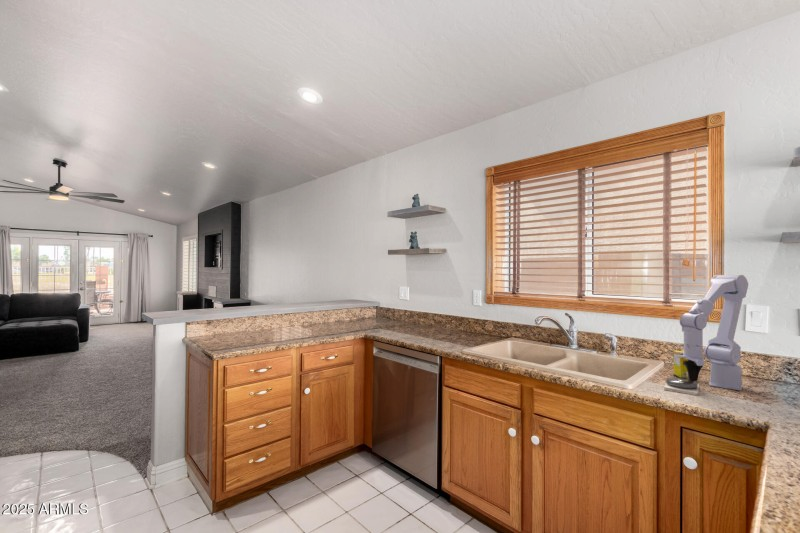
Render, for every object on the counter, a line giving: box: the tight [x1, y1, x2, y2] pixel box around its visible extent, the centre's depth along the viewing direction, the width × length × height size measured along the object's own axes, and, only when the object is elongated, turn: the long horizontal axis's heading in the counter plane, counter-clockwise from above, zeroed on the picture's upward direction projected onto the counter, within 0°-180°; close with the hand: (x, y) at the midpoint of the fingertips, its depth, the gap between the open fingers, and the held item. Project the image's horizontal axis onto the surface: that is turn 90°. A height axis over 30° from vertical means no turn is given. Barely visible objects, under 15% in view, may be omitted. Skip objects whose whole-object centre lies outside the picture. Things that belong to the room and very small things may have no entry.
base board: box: [663, 382, 700, 396], centre depth 144 cm, size 10×13×1 cm
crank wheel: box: [665, 372, 699, 389], centre depth 144 cm, size 10×10×5 cm
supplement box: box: [672, 350, 688, 379], centre depth 159 cm, size 6×6×11 cm
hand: (693, 380), depth 143 cm, fingers closed
